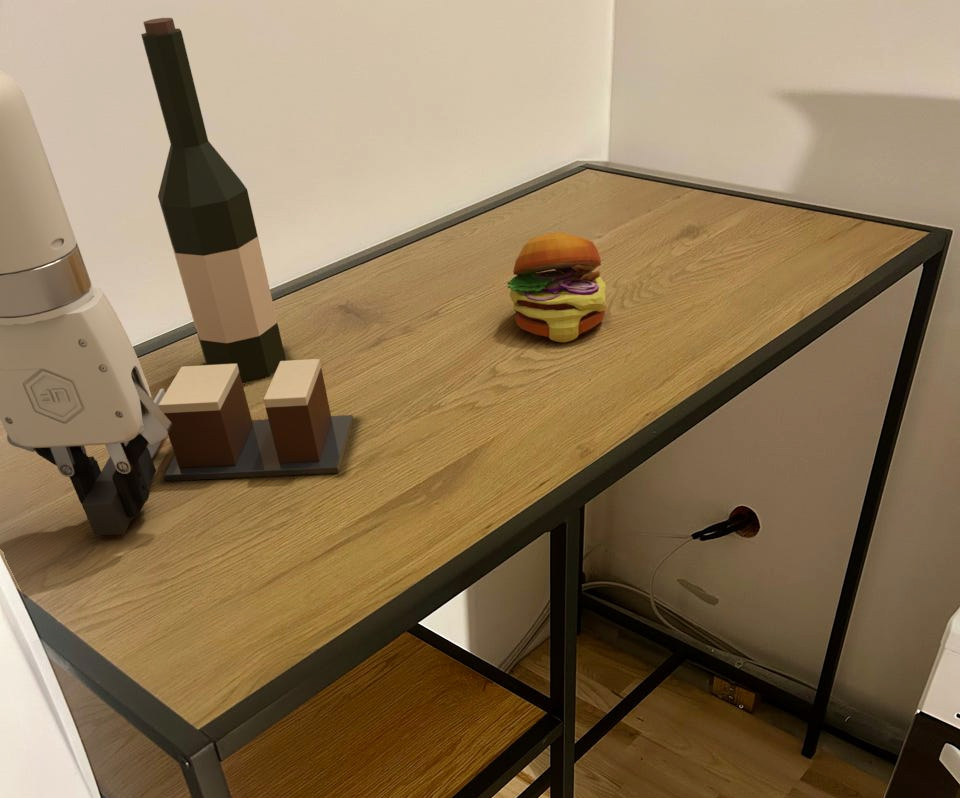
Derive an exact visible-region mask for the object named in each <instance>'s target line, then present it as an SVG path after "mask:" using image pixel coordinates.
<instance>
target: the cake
mask: <svg viewBox="0 0 960 798" xmlns="http://www.w3.org/2000/svg"><path fill="white" fill-rule="evenodd" d="M245 392H246V391H245V389H244V385H243V382H242V381H241V377H240V373H239V369H238V365H237V364H220V365H206V364H205V365H203V364H202V365H188V366H187V365H186V366H184V365H183V366H180V368H179V370H178V372H177V374H175V376H174V379H173V380H172V382H171V383H170V384H169V386H168V388H167V390H166V391H165V395H164V396H163V398H162V400H161V401H160V403H159V405H158V406H159V409H160V410H161V411H162V412H163V413H164V414H165V416H166V417H167V418H168V419H169V420H170V421H171V423H172V426H173V427H172V429H171V431H170V433H169V434H168V436H167V437H168V439H169V442H170V445H171V448H172V450H173V453H174V457H176V460H177V463H178V466H179V468H191V467H212V466H233V465H236V463H237V461H238V458H239V456H240V454H241V451H242V449H243V447H244V445H245V442H246V440H247V438H248V436H249V433H250V431H251V429H252V426H253V423H252V420H253V419H252V415H251V412H250V408H249V404H248V400H247V396H246V393H245Z"/></svg>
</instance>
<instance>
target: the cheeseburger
mask: <svg viewBox="0 0 960 798" xmlns="http://www.w3.org/2000/svg"><path fill="white" fill-rule="evenodd" d="M598 250H599V249H598V248H597V246H596V245H595V243H594V241H592V240H589V239H586V238H584V237H579V236H576V235H573V234H570V233H565V232H551V233H546V234H541V235H537V236H534V237H531V238H530V239H529V240H528V241H527V242H526V243H525V244H524V245H523V246H522V249H521V250H520V252H519V254H518V256H517V257H516V259H515V262H514V266H513V270H512V273H513V275H514V277H512V278H511V279H510V280H509V281H507V283H506V284H507V289H510V290H509V298H510V299H511V301H512V303H513V304H512V307H513V311H514V319H515V322H516V326H517V327H519V328H520V329H522V330H523V331H526V332H529V333H531V334H533V335H537V336H540V337H546V338H548V339H549V340H551V341H553V342H556V343H563V344H564V343H568V342H571V341H573V340H576V339H577V338H578V336H579V335H581V334H583V333H584V332H587V331H589V330H591V329H593V328H594V327H596V326H597V325H598V324H600V323H601V322H603V321H604V318H605V314H606V313H605V312H606V305H607V303H606V297H607V295H606V289H607V285H606V283H605V282H604V280H603V278H602V276H601V272H600V270H599V269H598V270H596V269H597V268H598V267H600V266H601V265H602V260H601V257H600V254H599V253H600V252H599V251H598ZM595 270H596V271H595Z"/></svg>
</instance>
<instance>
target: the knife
mask: <svg viewBox="0 0 960 798" xmlns="http://www.w3.org/2000/svg"><path fill="white" fill-rule="evenodd" d="M165 393H166V391H165V389H164V388H160V389H159V391H158V393H157V394H156V396H155V398H154V399H153V402H154V403H155V404H156V405H157V406H158V405H159V403H160V401H161V400H162V398H163V396H164V395H165ZM158 407H159V406H158ZM143 427H145V426H144V424H143V423H142V428H143ZM161 442H162V440H161V441H159V442H157V443H156V444H154V445H152V446H149V447H147V448H146V449H145V451H144V452H143V453H142V455H141V456H140V458H139V459H138V461H139V464H140V466H141V469H142V472H143V475H144V477H145V480H146V483H147V486H148V488H150V485H151V483H152V481H153V479H154V477H155V475H156V473H157V468H156V466H155V463H154V461H153V458H154V455H155V454H156V452H157V450H158V448H159V446H160V444H161ZM115 471H116V468H115V466H114V464H113V461H112V459H111V457H110V456H109V457H108V459H107V461H106V462H105V465H104V466H103V467H102V470H101V473H100V475H99V476H98V478H97V480H96V482H95V483H94V485H93V487H92V488H91V490H90V492H89V493H88V495H87V497H86V498H85V500H84V502H83V503H82V504H81V507H82V509H83V511H84V513H85V515H86V518H87V520H88V522H89V525H90V527H91V529H92V531H93V533H94V536H97V537H98V536H114V535H115V536H116V535H117V536H118V535H124V534H126V531H127V530H128V528H129V526H130V524H131V522H132V520H133V518H130V517H129V516H127V513H126V511H125V508H124V506H123V503H122V501H121V498H120V496H119V493H118V492H117V489H116V487H115V484H114V482H113V479H112V476H113V474H114V472H115Z"/></svg>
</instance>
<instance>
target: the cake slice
mask: <svg viewBox="0 0 960 798" xmlns="http://www.w3.org/2000/svg"><path fill="white" fill-rule="evenodd" d="M263 402H264V407H265V411H266V415H267V419H268V420H269V424H270V428H271V432H272V436H273V440H274V444H275V448H276V452H277V456H278V460H279V463H295V462H315V461H320V458H321V454H322V451H323V448H324V445H325V442H326V438H327V435H328V432H329V429H330V426H331V422H332V418H331V416H332V413H331V408H330V403H329V399H328V394H327V389H326V384H325V379H324V373H323V369H322V363H321V360H320V358H312V359H311V358H309V359H308V358H307V359H293V360H286V361H280V363H279V365H278V367H277V370H276V371H275V372H274V375H273V376H272V379H271V381H270V384H269V386H268V388H267V391H266V393H265V395H264V398H263Z"/></svg>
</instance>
